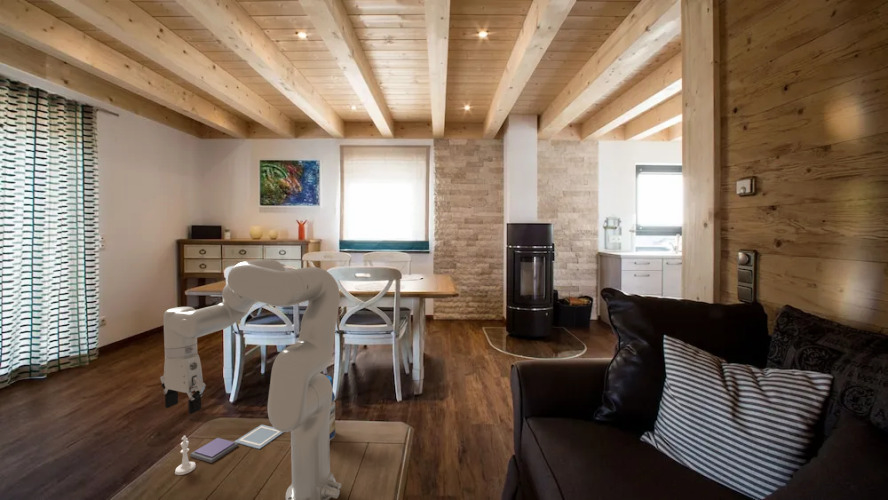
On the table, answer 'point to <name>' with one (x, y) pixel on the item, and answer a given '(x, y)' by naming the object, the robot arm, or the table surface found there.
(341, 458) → the table surface
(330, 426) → the beverage bottle
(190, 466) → the chess piece
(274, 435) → the pale blue flat square
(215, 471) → the table surface
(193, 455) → the ink pad
